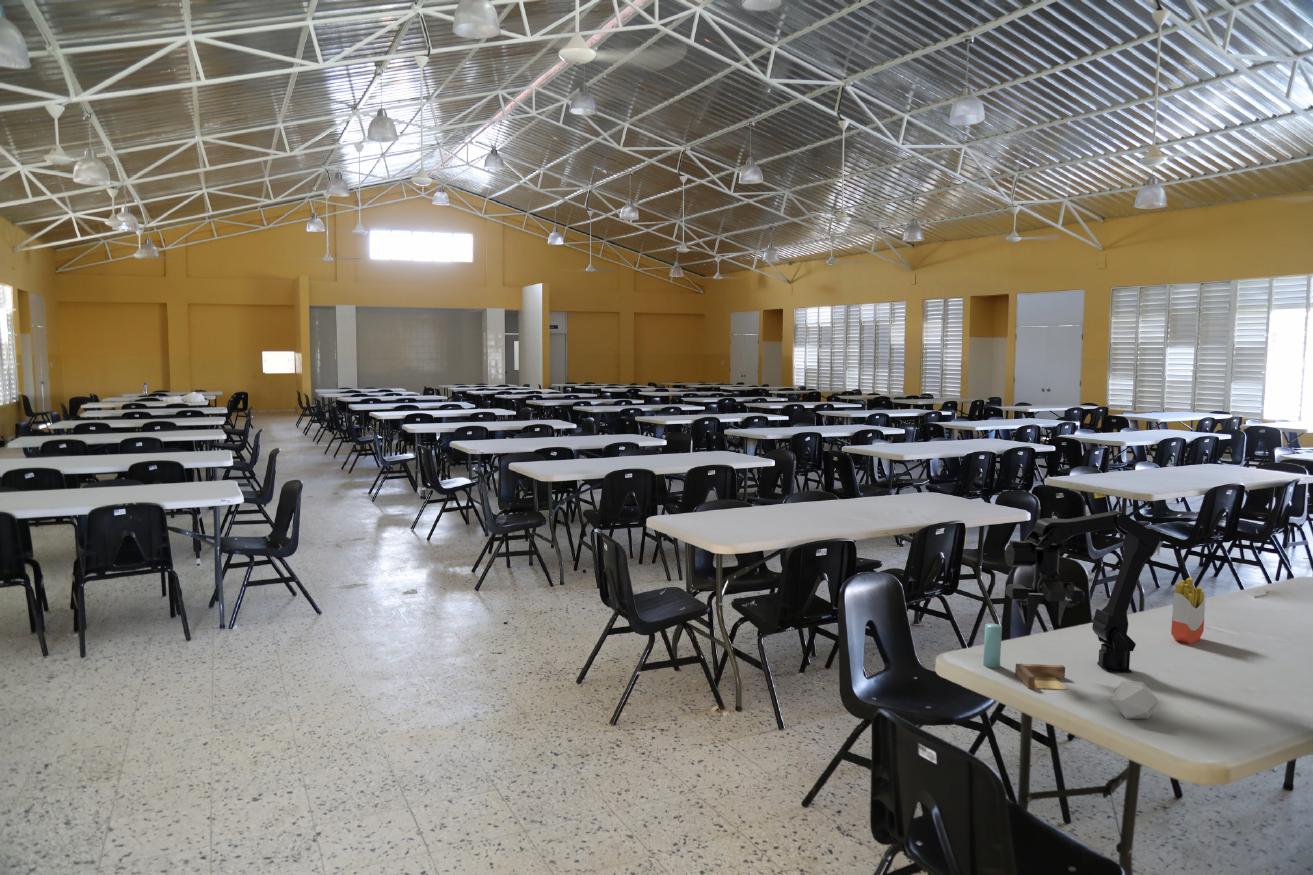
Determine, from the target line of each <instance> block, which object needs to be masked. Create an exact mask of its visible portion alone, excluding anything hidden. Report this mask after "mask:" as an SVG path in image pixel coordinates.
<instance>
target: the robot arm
mask: <svg viewBox="0 0 1313 875" xmlns="http://www.w3.org/2000/svg"><path fill="white" fill-rule="evenodd" d="M1110 529H1116V530H1117V532H1119V533H1120V534H1122V535H1123V536H1124V538H1123V541H1122V542H1123V546H1122V547H1123V551H1124V556H1123V559H1122V563H1121V565H1120V567H1119V571H1118V573H1117V577H1116V579H1115V582H1114V584H1113V588H1112V591H1111V594H1110V596H1109V599H1108V602H1107V604H1106V606H1104V608H1103V609H1100V608H1096V609H1095V611H1094V616H1093V618H1092V620H1091V621H1090V622H1091V623H1092V626H1091V628H1092V630H1093V633H1094V634H1095V635H1096V636H1097V639H1098V641H1099V642H1101V644H1100V645H1101V646H1100V649H1099V650H1098V661H1097V665H1098V666H1100V667H1101V668H1102V669H1103V670H1105V671H1106V672H1109V673H1133V670H1132V669H1131V668H1130V664H1131V663H1130V661H1131V652H1134V650H1135V648H1136V646H1137V643H1136V642H1135V641H1134V640H1133V639H1132V638H1131V637H1130V636H1129V635H1128V629H1129V620H1128V610H1129V607H1130V605H1131V601H1132V598H1133V596H1134V593H1135V590H1136V588H1137V584H1138V581H1139V579H1140V576H1141V574H1142V570H1143V568H1144V565H1145V562H1147V560H1148V559H1150V558H1151V557H1152V556H1153V555H1154V554H1155V552H1156V550H1157V549H1158V547H1159V545H1160V543H1161V536H1160V535H1159V532H1158V531H1157V530H1156V529H1154V528H1151V527H1147V526H1145V525H1143V524H1141V523H1139V522H1138V521H1136V520H1134V519H1133V518H1131V517H1130V516H1129V515H1127V514H1126V513H1125V512H1122V511H1119V510H1116V509H1115V510H1110V511H1106V512H1102V513H1095V514H1090V515H1084V516H1078V517H1072V518H1055V517H1054V518H1049V517H1045V518H1039V519H1038V520H1036V522H1035V523H1034V526H1033V529H1032V530H1031V531H1030V532H1029V534H1028V535H1026V536H1025V538H1024V540H1023V541H1022V540H1019V541H1018V540H1013V539H1012V540H1011V539H1010V540H1009V542H1008V543H1009V544H1008V545H1007V546H1006V548H1005V550H1004V560H1005V563H1006V565H1007V566H1008V567H1026V568H1028V567H1029V568H1030V567H1032V572H1033V582H1032V583H1031V587H1032V588H1027V587H1026V586H1024V585H1023V584H1019V583H1017V584H1015V583H1008V584H1007V585H1006V587H1005V595H1006V596H1007V597H1009V598H1011V599H1012V600H1014V602H1015V604H1016V606H1017V607H1018V610H1019V611H1018V612H1019V613H1020V616H1021V619H1022V622H1023V624H1025V625H1028V605H1029V602H1030V601H1029V600H1028V598H1029V596H1030V597H1044V599H1045V600H1046V601H1048V602H1058V617H1057V618H1058V625H1059V626H1063V623H1064V622H1065V620H1066V618H1067V616H1068V614H1069V612H1070V611H1071V609H1072V608H1073V607H1074V606H1076V605H1079V604H1080V603H1084V602H1086V600H1085V599H1086V594H1085V592H1084V591H1083V590H1082V589H1081V588H1079V587H1077V586H1075V585H1074V583H1073V582H1067V581H1065V582H1064V581H1063V582H1062V581H1061V573H1060V572H1059V565H1060V552H1068V551H1069V549H1068V548H1067V547H1066V546H1065V545H1064V543H1063V542H1064V541H1067V540H1069V539H1071V538H1072V537H1074V536H1077V535H1080V534H1083V535H1084V534H1086V533H1087V534H1088V533H1093V532H1098V531H1104V530H1110ZM1033 566H1034V567H1033Z"/></svg>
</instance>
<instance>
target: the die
mask: <svg viewBox="0 0 1313 875" xmlns="http://www.w3.org/2000/svg"><path fill="white" fill-rule="evenodd" d="M1110 700H1111V702H1112V703H1113V704H1114V705H1115V706H1116V708H1117V709H1118V710H1119V712H1120V713H1121V714H1122V715H1123V716H1124V718H1125V719H1131V720H1132V719H1135V720H1136V719H1137V720H1139V719H1140V720H1141V719H1143V720H1148V719H1149V717H1150V716H1151V714H1152V712H1153V710H1154V709H1155V707H1156V705H1157V703H1158V702H1159V699H1158V698H1157V697H1156V695H1155V694H1154V693H1153V692H1152V691H1151V690H1150V689H1149V687H1148V686H1147V684H1145V683H1144V682H1143V681H1120V682H1119V685H1118V686H1117V688H1116V690H1115V692H1114V693H1113V695H1112V697H1111V699H1110Z"/></svg>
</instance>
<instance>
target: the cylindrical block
mask: <svg viewBox="0 0 1313 875" xmlns="http://www.w3.org/2000/svg"><path fill="white" fill-rule="evenodd" d="M1002 632H1003V626H1002V625H1000V624H998V623H985V624H984V642H983V666H984V667H986V668H988V669H1000V668H1001V655H1002V654H1001V653H1002V651H1001V650H1002V634H1003V633H1002Z"/></svg>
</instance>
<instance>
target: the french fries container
mask: <svg viewBox="0 0 1313 875" xmlns="http://www.w3.org/2000/svg"><path fill="white" fill-rule="evenodd" d="M1174 585H1175V586H1174V587H1175V588H1174V592H1173V598H1172V599H1173V600H1172V616H1171V628H1170V629H1171V630H1170V632H1171V633H1170V634H1171V636H1172V637H1173V639H1174V641H1177V642H1182V643H1185V644H1189V645H1190V644H1194V643H1196V642H1198V641H1200V639H1201V638H1202V635H1203V633H1204V630H1205V615H1206V614H1205V612H1206V607H1205V606H1206V604H1205V603H1206V596H1205V592H1204V591H1203V587H1201V586H1199V585H1198V586H1197V587H1195V586H1196V585H1194V578H1192V577H1187V578H1186V579H1185V580H1183V579H1181V580H1180V583H1175V584H1174Z"/></svg>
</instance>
